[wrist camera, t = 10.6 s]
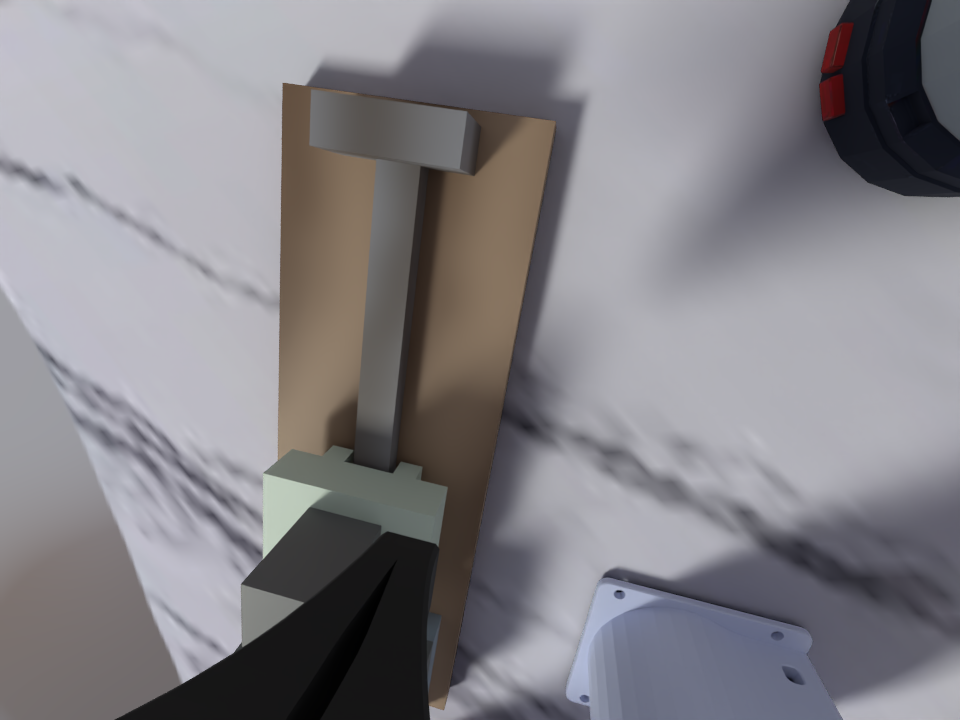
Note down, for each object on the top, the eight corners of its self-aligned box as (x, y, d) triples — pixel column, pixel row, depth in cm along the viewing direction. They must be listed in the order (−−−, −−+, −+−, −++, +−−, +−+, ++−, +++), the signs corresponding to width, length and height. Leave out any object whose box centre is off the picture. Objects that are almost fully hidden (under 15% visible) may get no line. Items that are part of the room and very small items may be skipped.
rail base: (556, 127, 16) (551, 72, 10) (449, 688, 26) (413, 835, 20) (300, 91, 17) (159, 23, 11) (287, 640, 27) (205, 764, 21)
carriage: (453, 474, 20) (397, 602, 13) (436, 581, 22) (380, 740, 15) (304, 438, 20) (181, 542, 14) (300, 544, 22) (191, 679, 16)
